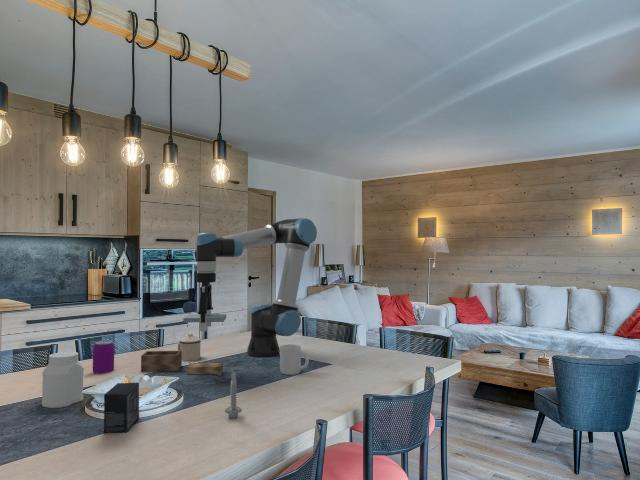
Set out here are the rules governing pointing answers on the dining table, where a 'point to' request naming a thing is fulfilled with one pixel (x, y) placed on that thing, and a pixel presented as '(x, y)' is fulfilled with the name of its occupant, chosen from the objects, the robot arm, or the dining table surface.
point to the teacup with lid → (190, 348)
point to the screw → (233, 399)
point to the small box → (121, 407)
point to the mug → (292, 359)
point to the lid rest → (205, 368)
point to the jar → (62, 380)
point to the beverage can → (103, 357)
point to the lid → (209, 318)
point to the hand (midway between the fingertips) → (205, 328)
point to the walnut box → (161, 361)
